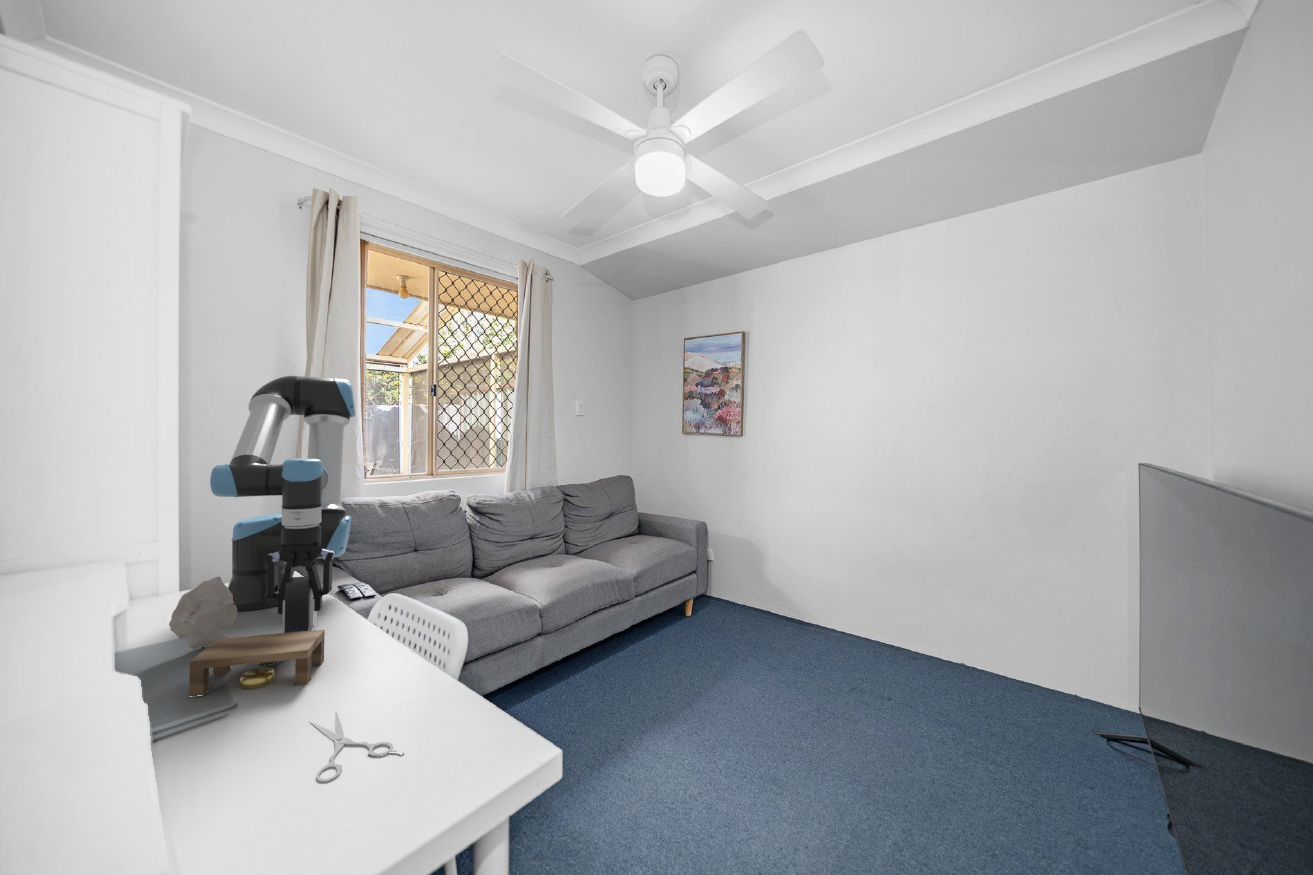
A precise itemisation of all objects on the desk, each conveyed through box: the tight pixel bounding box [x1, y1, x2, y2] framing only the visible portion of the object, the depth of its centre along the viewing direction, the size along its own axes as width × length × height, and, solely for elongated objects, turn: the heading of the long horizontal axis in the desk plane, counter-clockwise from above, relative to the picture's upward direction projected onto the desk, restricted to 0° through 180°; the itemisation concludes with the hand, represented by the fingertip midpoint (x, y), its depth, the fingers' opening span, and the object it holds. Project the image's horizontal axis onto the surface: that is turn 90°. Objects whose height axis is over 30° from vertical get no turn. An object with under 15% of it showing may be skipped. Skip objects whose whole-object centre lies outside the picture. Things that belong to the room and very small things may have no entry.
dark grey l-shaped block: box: [258, 575, 315, 667], centre depth 108 cm, size 20×4×12 cm, turn 19°
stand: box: [188, 629, 325, 697], centre depth 96 cm, size 10×18×6 cm, turn 108°
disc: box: [239, 666, 275, 691], centre depth 94 cm, size 5×5×2 cm
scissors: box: [308, 711, 397, 784], centre depth 78 cm, size 11×1×20 cm
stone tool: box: [168, 576, 238, 650], centre depth 108 cm, size 11×4×15 cm, turn 132°
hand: (299, 625), depth 115 cm, fingers closed on dark grey l-shaped block, 4 cm apart
